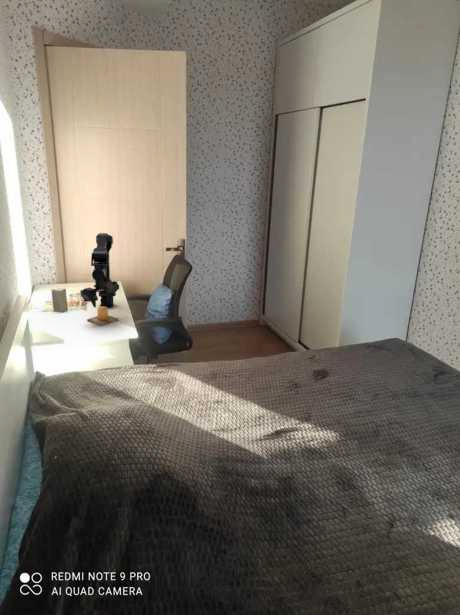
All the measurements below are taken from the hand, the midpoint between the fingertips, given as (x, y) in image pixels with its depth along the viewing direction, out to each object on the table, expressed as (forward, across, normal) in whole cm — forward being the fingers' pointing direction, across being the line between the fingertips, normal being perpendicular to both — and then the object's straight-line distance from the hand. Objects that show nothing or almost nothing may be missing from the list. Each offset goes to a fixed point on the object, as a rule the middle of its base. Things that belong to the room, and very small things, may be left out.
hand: (102, 305), depth 232 cm
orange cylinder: (+8, 0, 0) cm, 8 cm away
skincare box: (+9, -5, +29) cm, 31 cm away
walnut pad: (+8, 0, 0) cm, 9 cm away
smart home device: (+9, +22, +40) cm, 46 cm away
